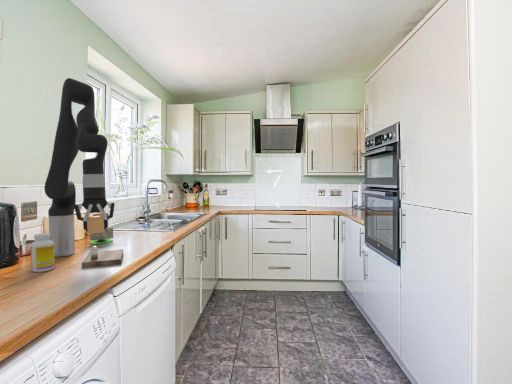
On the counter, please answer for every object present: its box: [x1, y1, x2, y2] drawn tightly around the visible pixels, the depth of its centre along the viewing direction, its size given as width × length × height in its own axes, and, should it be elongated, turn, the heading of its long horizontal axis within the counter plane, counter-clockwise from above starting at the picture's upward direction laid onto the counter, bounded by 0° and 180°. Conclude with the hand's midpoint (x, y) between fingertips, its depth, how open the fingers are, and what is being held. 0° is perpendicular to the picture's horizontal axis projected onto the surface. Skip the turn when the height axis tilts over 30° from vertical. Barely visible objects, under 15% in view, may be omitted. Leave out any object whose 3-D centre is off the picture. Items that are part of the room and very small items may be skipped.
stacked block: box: [89, 212, 114, 245], centre depth 154 cm, size 12×13×15 cm
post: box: [90, 245, 99, 259], centre depth 113 cm, size 2×2×5 cm
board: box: [81, 248, 124, 269], centre depth 118 cm, size 13×18×2 cm
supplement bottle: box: [30, 232, 56, 273], centre depth 106 cm, size 7×7×13 cm
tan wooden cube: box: [86, 215, 105, 234], centre depth 114 cm, size 6×6×6 cm
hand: (96, 229), depth 114 cm, fingers closed on tan wooden cube, 5 cm apart
